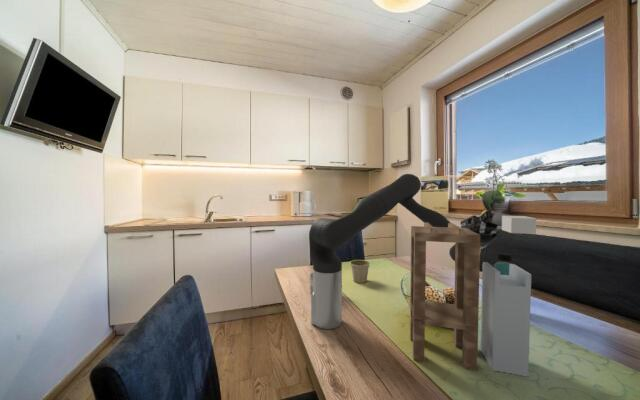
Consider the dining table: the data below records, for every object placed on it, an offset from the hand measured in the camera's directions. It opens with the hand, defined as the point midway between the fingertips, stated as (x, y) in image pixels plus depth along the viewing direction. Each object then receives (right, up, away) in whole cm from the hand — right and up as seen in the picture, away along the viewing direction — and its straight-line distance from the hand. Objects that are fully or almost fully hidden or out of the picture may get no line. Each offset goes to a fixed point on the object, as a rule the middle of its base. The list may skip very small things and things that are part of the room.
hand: (498, 213), depth 64 cm
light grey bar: (-1, -2, -2) cm, 3 cm away
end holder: (-1, -37, -3) cm, 37 cm away
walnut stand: (-14, -36, +1) cm, 39 cm away
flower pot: (-27, -35, +52) cm, 68 cm away
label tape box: (-45, -35, +40) cm, 70 cm away
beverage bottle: (+19, -36, +24) cm, 47 cm away
